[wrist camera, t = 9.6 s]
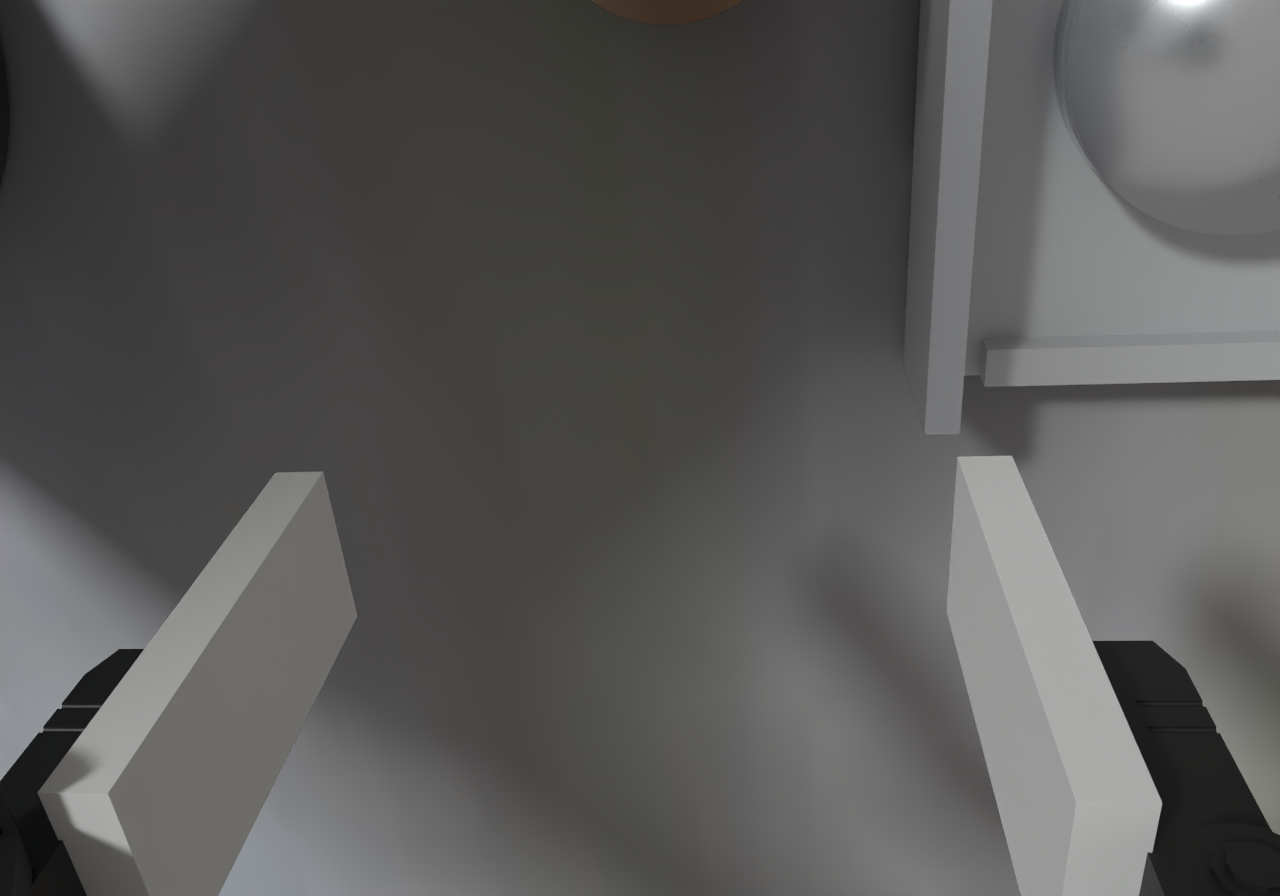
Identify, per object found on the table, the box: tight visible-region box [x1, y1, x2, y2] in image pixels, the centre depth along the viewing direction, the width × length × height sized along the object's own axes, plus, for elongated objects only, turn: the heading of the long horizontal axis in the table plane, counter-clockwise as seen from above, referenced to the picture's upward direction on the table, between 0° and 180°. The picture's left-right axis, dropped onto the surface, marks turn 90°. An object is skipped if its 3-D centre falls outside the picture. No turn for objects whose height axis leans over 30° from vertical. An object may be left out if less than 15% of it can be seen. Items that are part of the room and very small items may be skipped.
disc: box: [1052, 0, 1280, 235], centre depth 23 cm, size 8×8×2 cm
